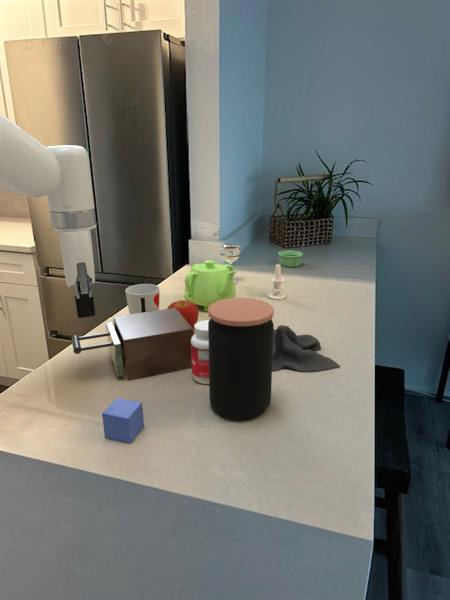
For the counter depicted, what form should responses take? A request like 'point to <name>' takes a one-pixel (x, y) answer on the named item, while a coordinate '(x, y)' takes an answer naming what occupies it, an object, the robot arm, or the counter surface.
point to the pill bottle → (200, 352)
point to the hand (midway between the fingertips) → (86, 315)
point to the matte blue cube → (123, 420)
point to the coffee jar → (240, 357)
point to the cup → (142, 298)
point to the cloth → (298, 352)
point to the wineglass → (230, 253)
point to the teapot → (209, 283)
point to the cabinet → (154, 342)
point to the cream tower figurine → (277, 285)
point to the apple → (186, 311)
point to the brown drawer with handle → (112, 343)
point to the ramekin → (290, 258)
